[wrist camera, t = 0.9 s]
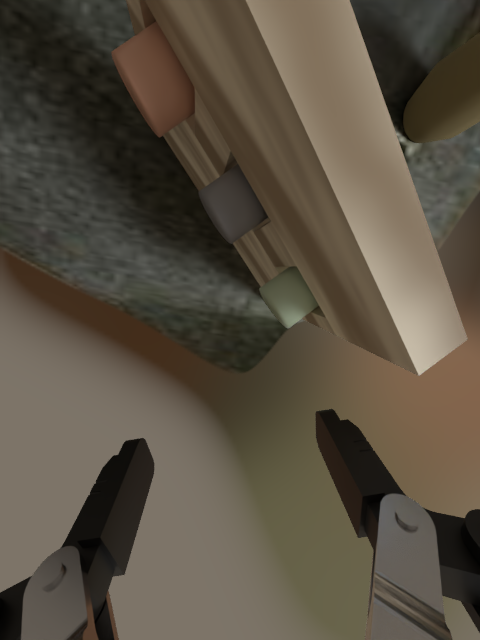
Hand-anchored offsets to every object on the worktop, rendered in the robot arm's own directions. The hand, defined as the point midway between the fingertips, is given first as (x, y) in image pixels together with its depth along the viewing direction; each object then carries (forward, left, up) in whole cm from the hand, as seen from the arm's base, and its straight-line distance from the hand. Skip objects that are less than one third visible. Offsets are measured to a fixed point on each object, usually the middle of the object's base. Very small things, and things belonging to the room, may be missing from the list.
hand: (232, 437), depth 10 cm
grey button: (-3, +12, -10) cm, 16 cm away
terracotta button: (-9, +17, -10) cm, 22 cm away
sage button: (+4, +7, -10) cm, 13 cm away
